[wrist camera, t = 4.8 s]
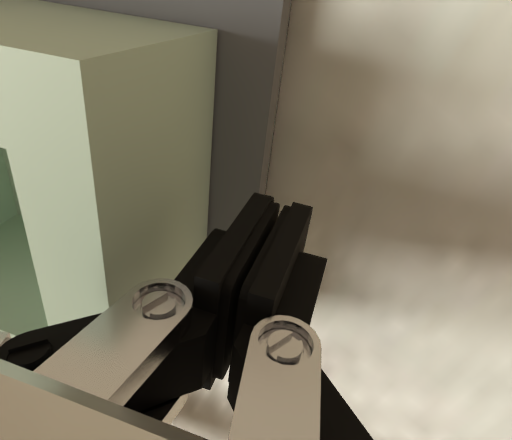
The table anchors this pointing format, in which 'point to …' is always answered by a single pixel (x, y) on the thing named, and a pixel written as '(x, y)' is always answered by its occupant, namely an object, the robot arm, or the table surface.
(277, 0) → the board
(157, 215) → the sage block
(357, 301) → the table surface
